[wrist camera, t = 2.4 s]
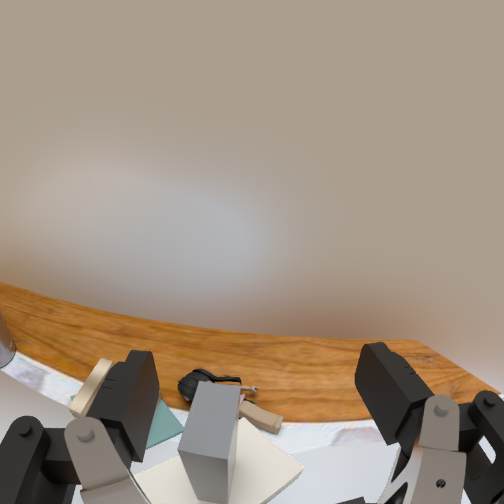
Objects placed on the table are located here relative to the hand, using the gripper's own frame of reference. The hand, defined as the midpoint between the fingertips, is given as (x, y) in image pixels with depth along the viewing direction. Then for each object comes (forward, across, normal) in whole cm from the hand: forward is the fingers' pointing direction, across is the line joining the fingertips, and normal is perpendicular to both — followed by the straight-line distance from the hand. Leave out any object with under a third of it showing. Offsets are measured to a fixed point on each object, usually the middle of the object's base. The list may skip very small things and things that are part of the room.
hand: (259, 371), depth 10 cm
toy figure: (+20, +2, +24) cm, 31 cm away
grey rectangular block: (+6, +3, +21) cm, 22 cm away
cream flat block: (+7, +3, +25) cm, 26 cm away
